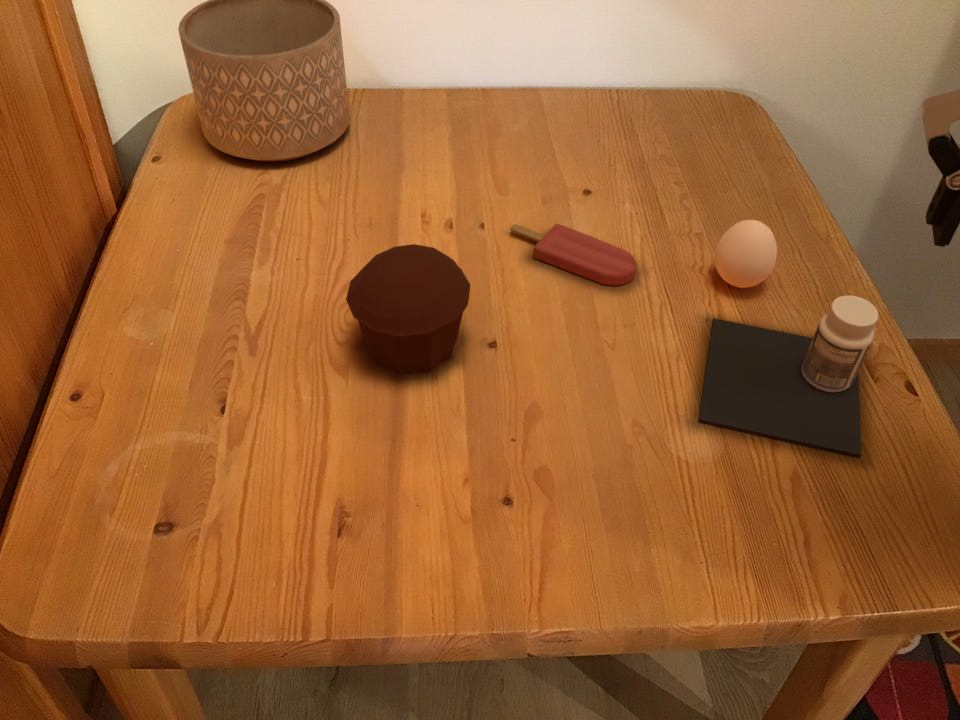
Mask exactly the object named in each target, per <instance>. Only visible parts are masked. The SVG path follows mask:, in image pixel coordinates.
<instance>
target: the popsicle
mask: <svg viewBox="0 0 960 720" xmlns="http://www.w3.org/2000/svg"><path fill="white" fill-rule="evenodd" d="M509 230H510V231H511V232H513V233H515V234H517V235H520V236H522V237H525V238H527V239H531V240H532V241H535V242H537V243H536V244H535V245H534V247H533V251H532V257H533V258H534V259H537V260H538V261H542V262H544V263H546V264H550V265H552V266H554V267H557V268H559V269H562V270H564V271H567V272H569V273H572V274H575V275H578V276H580V277H582V278H583V277H584V278H586V279H588V280H591V281H594V282H595V283H596V282H597V283H599V284H602V285H605V286H606V285H607V286H613V287H616V286H622V285H625V284H627V283H629V282H631V281H632V280H633V278H634V277H635V274H636V269H637V261H636V259H635V257H634V255H633V254H632V253H630V252H628V251H627V250H625V249H624V248H621V247H619V246H616V245H614V244H611V243H609V242H606V241H604V240H601V239H599V238H596V237H593V236H591V235H588V234H586V233H584V232H581V231H578V230H576V229H573V228H571V227H568V226H565V225H562V224H560V223H555V224H554V225H553V226H552V227H551V228H550V229H549V231H547V233H546V234H543V233H540V232H538V231H534V230H532V229H529V228H527V227H524V226H523V225H522V226H521V225H519V224H512V225H511V226H510V228H509Z"/></svg>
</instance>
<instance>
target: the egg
mask: <svg viewBox="0 0 960 720" xmlns="http://www.w3.org/2000/svg"><path fill="white" fill-rule="evenodd" d="M777 256H778V244H777V241H776V238H775V235H774V233H773V231H772V229H770V227H769V226H768V225H766V224H765V223H763V222H762V221H760V220H756V219H743V220H741V221H738V222H737V223H735V224H734V225H731V226H730V228H729V229H727V231H725V232H724V233H723V234H722V236H721V238H720V239H719V241H718V243H717V246H716V249H715V254H714V264H715V268H716V271H717V273H718V275H719V276H720V277H721V278H722V280H723V281H724V282H726V283H727V284H728V285H730V286H732V287H735V288H739V289H746V288H751V287H755V286H757V285H759V284H761V283H762V282H764V281H765V280H766V279H767V278H768V277H769V276H770V275H771V273H772V272H773V270H774V268H775V266H776V261H777Z"/></svg>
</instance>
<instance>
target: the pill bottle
mask: <svg viewBox="0 0 960 720" xmlns="http://www.w3.org/2000/svg"><path fill="white" fill-rule="evenodd" d="M878 320H879V312H878V309H877V307H876V306H875V305H874V304H873V303H871V302H870V301H869V300H867V299H865V298H862V297H861V296H857V295H850V294H849V295H847V294H846V295H840V296H838V297H836V298H835V299H834V300H833V301H832V302H831V304H830V307H829V308H828V311H827V313H825V314H824V315H823V316H822V317H821V319H820V321H819V322H818V324H817V326H816V330H815V332H814V335H813V337H812V338H813V340H812V342H811V345H810V347H809V350H808V352H807V354H806V357H805V359H804V362H803V364H802V374H803V376H804V378H805V379H806V380H807V381H808V382H809V383H810V384H811V385H812V386H814V387H816V388H817V389H820V390H823V391H826V392H840V391H843V390H846V389H847V388H849V387H850V386H851V384H852V383H853V381H854V379H855V377H856V375H857V372H859V370H860V369H861V366H862V365H863V362H864V360H865V358H866V356H867V354H868V352H869V349H870V348H871V345H872V344H873V341H874V338H875V331H874V329H875V327H876V324H877V322H878Z"/></svg>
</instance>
